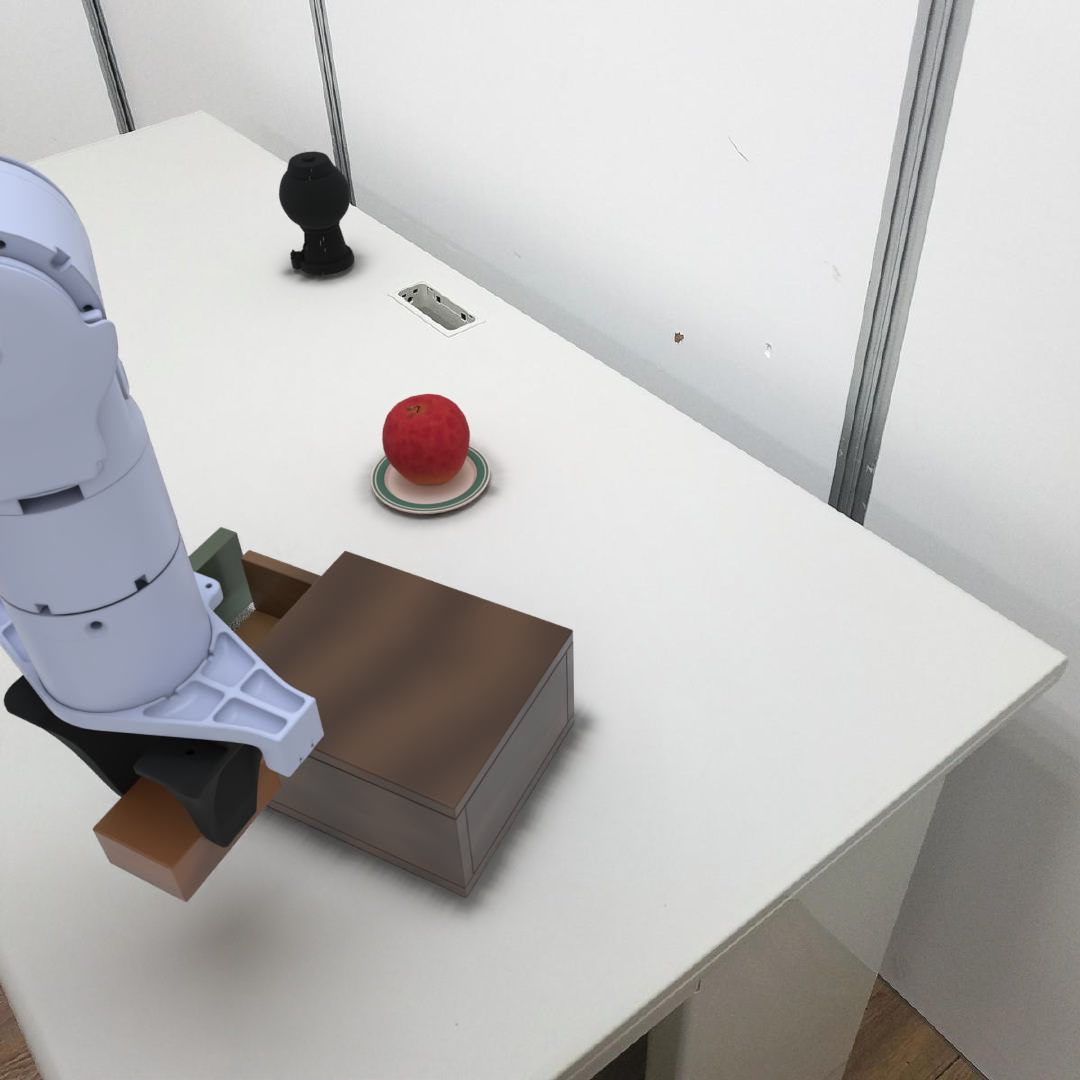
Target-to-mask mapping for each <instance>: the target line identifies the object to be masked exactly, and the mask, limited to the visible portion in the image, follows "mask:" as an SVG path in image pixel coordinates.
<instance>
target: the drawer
mask: <svg viewBox="0 0 1080 1080" xmlns="http://www.w3.org/2000/svg"><path fill="white" fill-rule="evenodd" d="M188 557H189V560H190V563H191V566H192V569H193V571H194V572H196V573H199V574H202V575H204V576H207V577H209V578H212V579H215V580H216V581H217V582H219V584H220V587H221V590H222V593H223V600H222V601H221V603H220V604H219V605H218V606H217V607H216V608H215V609H214V610H213V612H214V613H215V614H216V615H217V616H218V617H219V618H220V619H221V620H222V621H223V622H224V623H225V624H226V625H227V626H228V627H229V628H230V626H231V625H232V624H233V623H234V622H235V621H236V620H237V619H238V617H240V615H241V614H243V613H244V612H245V611H246V610H247V609H248V608H249V606H250V605H251V604H253V607H254V608H253V610H252V612H251V613H250V614H249V615H248V616H247V617H246V618H245V619H244V620H243V621H242V622H241V623H240V624H239V625H238V626H237V627H236V628H235V629H234V630H233V632H234V633H235V634H236V635H237V636H238V637H239V638H240V639H241V640H242V641H243V642H244V643H245V644H246V645H247V646H248V647H249V648H250V649H251V650H252V649H253V648H254V647H255V646H256V645H257V644H258V643H259V642H260V641H261V640H262V639H263V638H264V637H265V635H266V634H267V633H268V632H269V631H270V630H271V629H272V628H273V627H274V626H275V625H276V624H277V623H278V622H279V621H280V619H281V618H282V617H283V616H284V615H285V614H286V613H287V612H288V611H289V610H290V609H291V608H292V607H293V606H294V605H295V603H296V602H297V601H298V600H299V599H300V598H301V597H302V596H303V595H304V594H305V593H306V592H307V591H308V590H309V588H310V587H311V586H312V585H313V584H314V583H315V582H316V581H317V580H318V579H319V578H320V577H321V576H322V575H320V574H318V573H315V572H313V571H309V570H306V569H304V568H301V567H299V566H295V565H293V564H291V563H287V562H285V561H281V560H278V559H276V558H273V557H271V556H267V555H265V554H262V553H260V552H257V551H254V550H252V549H248V550H247V551H246V552H245V553H243V549H242V546H241V543H240V539H239V535H238V533H237V532H236V531H234V530H231V529H228V528H225V527H223V526H220V527H218V529H216V531H214V532H213V533H212V534H211V535H210V536H209V537H208V538H207V539H205V541H203V542H202V543H201V544H200V545H199V546H198V547H197V548H196V549H195V550H194V551H193V552H192V553H191V554H190V555H188Z"/></svg>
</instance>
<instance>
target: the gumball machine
mask: <svg viewBox="0 0 1080 1080" xmlns="http://www.w3.org/2000/svg"><path fill="white" fill-rule="evenodd" d="M303 149H304V150H306V149H305V147H303ZM278 199H279V203H280V206H281V209H282V210H283V211H284V213H285V214H286V217H288V218H289V219H290V221H291V222H293V223H294V224H296V225H298V226H299V228H300V229H301V231H302V232H303V239H304V240H303V244H302V249H301V250H297V251H296V250H295V249H291V251H290V253H289V255H290V262H291V263H290V264H291V268H292V269H294V270H296V271H302V272H303V273H305V274H308V275H311V276H317V277H318V276H321V277H323V278H324V277H325V276H331V275H336V274H340V273H342V272H345V271H347V270H348V269H349V268H351V267H352V266H353V264H354V263H355V254H354V251H353V250H352V247H350V246H349V245H347V244H346V240H345V237H344V235H343V231H342V229H341V226H340V223H341V220H342V219H343V218H344V216H345V215H346V214H347V212H348V210H349V207H350V203H351V202H350V200H351V189H350V184H349V182H348V180H347V177H346V176H345V175H344V174H343V172H342V171H341V170H340V169H339V168H338V166H336V165H334V163H333V162H332V160H331V158H330V157H329V156H328V155H327V153H324V152H320V151H313V150H312V151H303V152H300V153H297V154H295V155H293V156H291V157H290V159H289V160H288V163H287V168H286V171H284V173H283V174H282V177H281V179H280V183H279V188H278Z"/></svg>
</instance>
